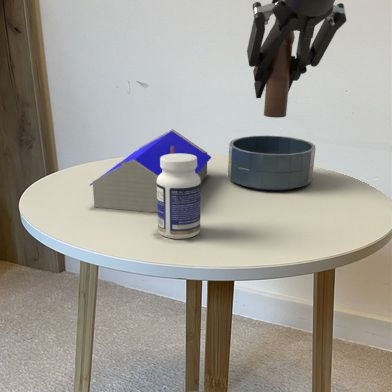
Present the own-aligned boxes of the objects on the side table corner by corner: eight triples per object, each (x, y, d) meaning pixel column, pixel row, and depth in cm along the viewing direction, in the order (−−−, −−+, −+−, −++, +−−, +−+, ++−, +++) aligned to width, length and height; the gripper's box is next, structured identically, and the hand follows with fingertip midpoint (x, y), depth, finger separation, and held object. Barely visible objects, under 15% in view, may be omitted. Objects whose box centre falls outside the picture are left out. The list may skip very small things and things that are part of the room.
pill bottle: (207, 229, 82) (208, 154, 77) (189, 243, 77) (189, 164, 72) (169, 222, 84) (168, 149, 79) (149, 235, 79) (147, 159, 74)
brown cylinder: (283, 113, 99) (291, 22, 92) (290, 117, 96) (299, 23, 89) (259, 113, 98) (266, 21, 91) (266, 118, 95) (273, 23, 88)
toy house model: (180, 214, 87) (180, 163, 83) (89, 206, 89) (85, 156, 86) (211, 175, 105) (212, 131, 101) (135, 169, 108) (133, 126, 104)
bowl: (296, 168, 110) (299, 134, 107) (323, 191, 98) (327, 153, 95) (220, 171, 108) (221, 136, 105) (238, 194, 96) (240, 156, 93)
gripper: (256, -7, 74) (223, 111, 96) (383, -4, 76) (321, 110, 99) (248, -57, 76) (217, 71, 98) (372, -52, 78) (314, 71, 101)
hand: (270, 90), depth 98 cm, fingers closed on brown cylinder, 4 cm apart
